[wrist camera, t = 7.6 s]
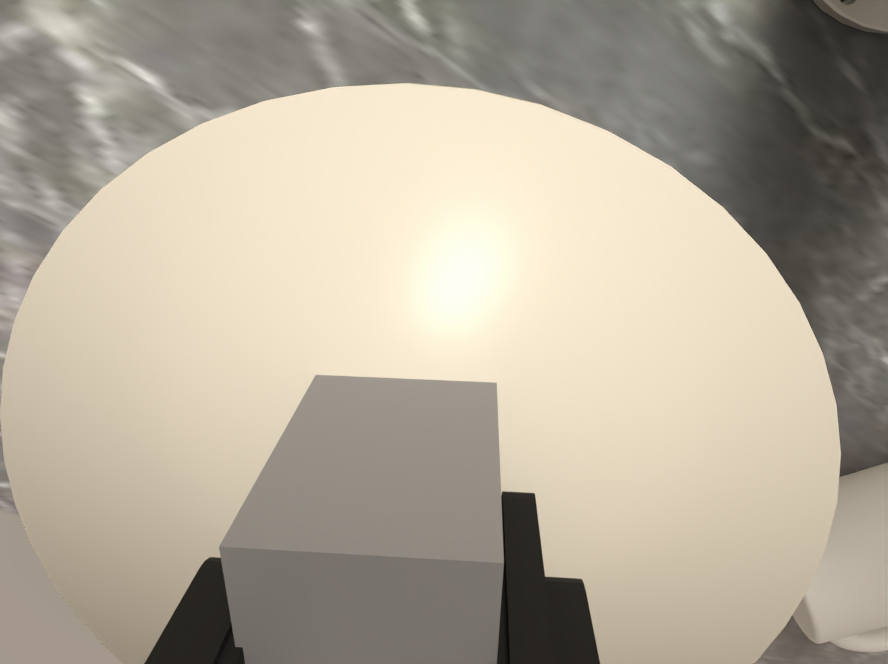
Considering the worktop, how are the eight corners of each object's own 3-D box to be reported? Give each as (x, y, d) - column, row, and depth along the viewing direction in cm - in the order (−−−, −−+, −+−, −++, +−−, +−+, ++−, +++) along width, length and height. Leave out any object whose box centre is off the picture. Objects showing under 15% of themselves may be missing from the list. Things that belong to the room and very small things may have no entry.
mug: (735, 479, 38) (798, 572, 31) (901, 427, 37) (1010, 513, 29) (777, 612, 42) (842, 723, 35) (929, 571, 41) (1031, 680, 33)
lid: (926, 92, 9) (1408, 112, 4) (723, 760, 15) (832, 1073, 10) (-64, 74, 10) (-573, 73, 5) (119, 716, 15) (-36, 989, 11)
